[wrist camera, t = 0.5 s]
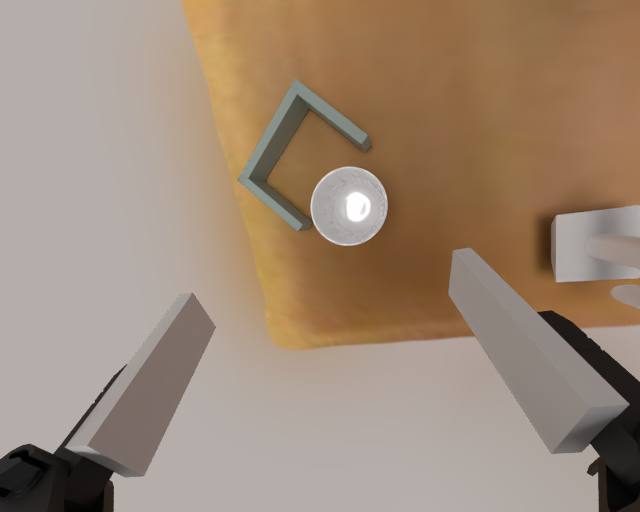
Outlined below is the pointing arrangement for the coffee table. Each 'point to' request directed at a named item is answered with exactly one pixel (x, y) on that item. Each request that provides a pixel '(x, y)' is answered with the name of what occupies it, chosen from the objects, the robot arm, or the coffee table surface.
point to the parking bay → (277, 140)
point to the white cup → (349, 206)
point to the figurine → (599, 249)
